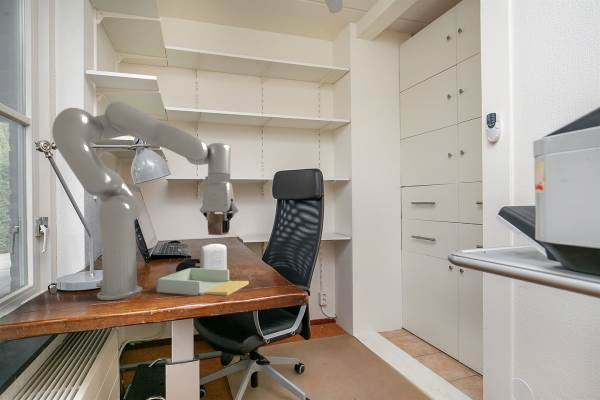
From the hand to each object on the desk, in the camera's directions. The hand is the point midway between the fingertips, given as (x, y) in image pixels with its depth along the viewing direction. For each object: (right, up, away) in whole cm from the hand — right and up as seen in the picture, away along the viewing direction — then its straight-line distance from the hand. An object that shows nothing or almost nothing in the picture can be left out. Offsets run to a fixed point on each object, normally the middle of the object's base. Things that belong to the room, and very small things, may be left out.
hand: (218, 231), depth 111 cm
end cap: (-15, -19, +14) cm, 28 cm away
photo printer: (-5, -19, +15) cm, 25 cm away
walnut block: (0, -1, 0) cm, 1 cm away
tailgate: (+1, -18, -7) cm, 19 cm away
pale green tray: (-7, -19, -4) cm, 20 cm away
